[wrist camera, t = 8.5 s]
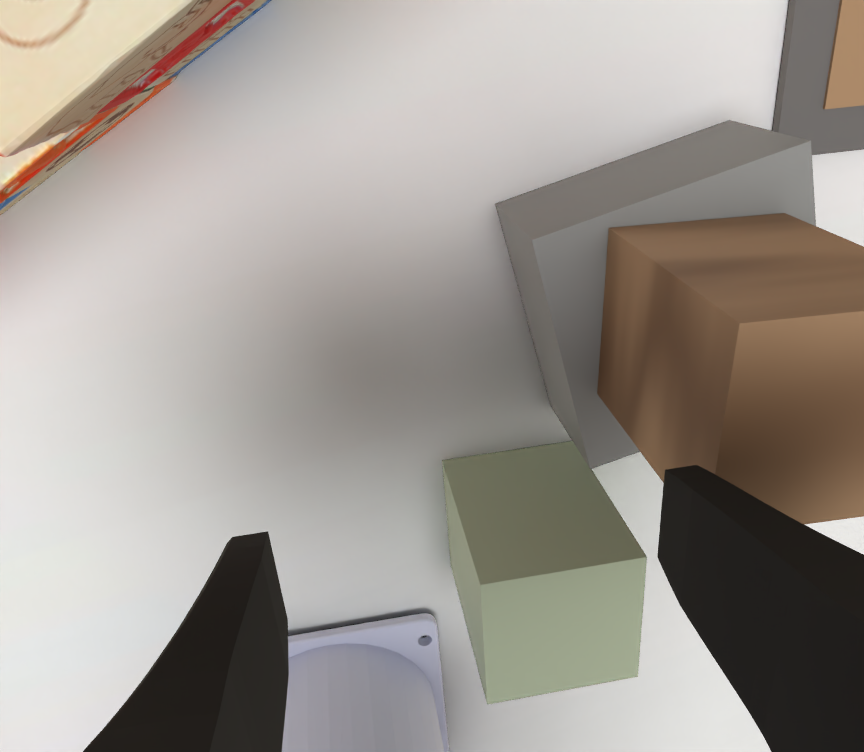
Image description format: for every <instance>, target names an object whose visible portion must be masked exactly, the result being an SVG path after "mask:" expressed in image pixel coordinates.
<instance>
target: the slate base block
mask: <svg viewBox="0 0 864 752" xmlns="http://www.w3.org/2000/svg"><path fill="white" fill-rule="evenodd" d="M495 205H496V208H497V212H498V216H499V219H500V223H501V226H502V230H503V234H504V237H505V241H506V245H507V248H508V252H509V256H510V259H511V263H512V267H513V270H514V274H515V277H516V281H517V285H518V288H519V292H520V296H521V299H522V303H523V307H524V310H525V314H526V318H527V321H528V325H529V329H530V332H531V336H532V339H533V343H534V347H535V350H536V354H537V358H538V361H539V365H540V369H541V372H542V376H543V380H544V383H545V387H546V391H547V394H548V398H549V401H550V405H551V407H552V409H553V410H554V412H555V414H556V415H557V417H558V418H559V420H560V422H561V423H562V425H563V426H564V428H565V430H566V431H567V433H568V434H569V436H570V438H571V439H572V441H573V442H574V444H575V446H576V447H577V449H578V450H579V452H580V454H581V455H582V457H583V458H584V460H585V462H586V463H587V465H588V466H589V468H590V469H592V468H595V467H598V466H601V465H603V464H606V463H609V462H612V461H615V460H617V459H620V458H623V457H626V456H629V455H631V454H634V453H637V452H640V450H639V449H638V448H637V446H636V445H635V444H634V442H633V441H632V440H631V438H630V437H629V436H628V434H627V433H626V432H625V430H624V429H623V428H622V426H621V425H620V424H619V422H618V421H617V420H616V418H615V417H614V416H613V414H612V413H611V412H610V410H609V409H608V408H607V406H606V405H605V404H604V402H603V401H602V400H601V398H600V397H599V396H598V394H597V388H598V374H599V360H600V345H601V331H602V317H603V303H604V288H605V274H606V260H607V245H608V231H609V228H613V227H625V226H637V225H649V224H661V223H673V222H685V221H696V220H708V219H720V218H732V217H744V216H756V215H768V214H780V213H786V214H788V215H791V216H793V217H795V218H798V219H800V220H802V221H805V222H807V223H809V224H812V225H814V226H816V220H815V203H814V186H813V169H812V151H811V141H810V140H806V139H802V138H798V137H794V136H790V135H786V134H782V133H778V132H774V131H770V130H766V129H762V128H758V127H754V126H750V125H746V124H742V123H738V122H734V121H730V120H729V121H726V122H723V123H720V124H717V125H715V126H712V127H709V128H706V129H703V130H701V131H698V132H695V133H692V134H689V135H687V136H684V137H681V138H678V139H675V140H673V141H670V142H667V143H664V144H661V145H659V146H656V147H653V148H650V149H647V150H645V151H642V152H639V153H636V154H633V155H631V156H628V157H625V158H622V159H619V160H617V161H614V162H611V163H608V164H605V165H603V166H600V167H597V168H594V169H591V170H589V171H586V172H583V173H580V174H577V175H575V176H572V177H569V178H566V179H563V180H561V181H558V182H555V183H552V184H549V185H547V186H544V187H541V188H538V189H535V190H533V191H530V192H527V193H524V194H521V195H519V196H516V197H513V198H510V199H507V200H505V201H502V202H499V203H496V204H495Z"/></svg>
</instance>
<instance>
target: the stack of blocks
mask: <svg viewBox="0 0 864 752" xmlns="http://www.w3.org/2000/svg"><path fill="white" fill-rule="evenodd" d="M270 1H271V0H0V215H1V214H3V213H4V212H5V211H7V210H8V209H9V208H10V207H12V206H13V205H14V204H16V203H17V202H18V201H19V200H21V199H22V198H23V197H24V196H26V195H27V194H28V193H30V192H31V191H32V190H33V189H35V188H36V187H37V186H39V185H40V184H41V183H42V182H44V181H45V180H46V179H47V178H49V177H50V176H51V175H53V174H54V173H55V172H56V171H58V170H59V169H60V168H61V167H63V166H64V165H65V164H67V163H68V162H69V161H70V160H72V159H73V158H74V157H76V156H77V155H78V154H79V153H80V152H81V151H82V150H84V149H85V148H87V147H88V146H90V145H91V144H92V143H94V142H95V141H97V140H98V139H99V138H101V137H102V136H103V135H105V134H106V133H107V132H108V131H110V130H111V129H112V128H113V127H115V126H116V125H117V124H119V123H120V122H121V121H122V120H124V119H125V118H126V117H128V116H129V115H130V114H131V113H133V112H134V111H135V110H137V109H138V108H139V107H140V106H142V105H143V104H144V103H146V102H147V101H148V100H149V99H151V98H152V97H153V96H154V95H156V94H157V93H158V92H160V91H161V90H162V89H163V88H165V87H166V86H168V85H169V84H170V83H172V82H173V81H174V80H175V79H176V77H177V75H178V73H179V72H180V71H181V70H182V69H184V68H185V67H186V66H188V65H189V64H190V63H191V62H193V61H194V60H195V59H197V58H198V57H199V56H201V55H202V54H203V53H204V52H206V51H207V50H208V49H210V48H211V47H212V46H213V45H215V44H216V43H217V42H219V41H220V40H221V39H222V38H224V37H225V36H226V35H227V34H229V33H230V32H231V31H233V30H234V29H235V28H237V27H238V26H239V25H241V24H242V23H243V22H245V21H246V20H247V19H248V18H250V17H251V16H252V15H254V14H255V13H256V12H258V11H259V10H260V9H261V8H263V7H264V6H265V5H266V4H268V3H269V2H270Z"/></svg>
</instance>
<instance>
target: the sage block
mask: <svg viewBox="0 0 864 752" xmlns="http://www.w3.org/2000/svg"><path fill="white" fill-rule="evenodd" d="M442 464H443V477H444V489H445V501H446V514H447V526H448V538H449V551H450V563H451V568H452V572H453V576H454V580H455V584H456V587H457V591H458V595H459V599H460V603H461V606H462V610H463V614H464V618H465V622H466V625H467V629H468V633H469V637H470V641H471V644H472V648H473V652H474V656H475V660H476V663H477V667H478V671H479V675H480V679H481V682H482V686H483V690H484V694H485V698H486V701H487V704H493V703H498V702H503V701H509V700H514V699H520V698H525V697H530V696H536V695H541V694H547V693H552V692H557V691H563V690H568V689H574V688H579V687H584V686H590V685H595V684H600V683H606V682H611V681H617V680H622V679H627V678H633V677H638V666H639V653H640V640H641V626H642V613H643V600H644V587H645V573H646V560H647V557H646V555H645V553H644V552H643V550H642V549H641V547H640V546H639V544H638V542H637V541H636V539H635V538H634V536H633V534H632V533H631V531H630V530H629V528H628V527H627V525H626V523H625V522H624V520H623V519H622V517H621V515H620V514H619V512H618V511H617V509H616V507H615V506H614V504H613V503H612V501H611V500H610V498H609V496H608V495H607V493H606V492H605V490H604V488H603V487H602V485H601V484H600V482H599V480H598V479H597V477H596V476H595V474H594V473H593V471H592V469H590V468H589V466H588V465H587V463H586V462H585V460H584V458H583V457H582V455H581V454H580V452H579V450H578V449H577V447H576V446H575V444H574V442H573V441H568V442H562V443H555V444H548V445H542V446H535V447H528V448H521V449H515V450H508V451H501V452H495V453H488V454H481V455H474V456H468V457H461V458H454V459H448V460H442Z"/></svg>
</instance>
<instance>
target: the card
mask: <svg viewBox="0 0 864 752" xmlns="http://www.w3.org/2000/svg"><path fill="white" fill-rule="evenodd" d="M772 131H774V132H778V133H782V134H786V135H790V136H794V137H798V138H802V139H806V140H810V141H811V151H812V155H817V154H826V153H835V152H844V151H853V150H862V149H864V0H789V8H788V15H787V23H786V31H785V38H784V46H783V54H782V61H781V69H780V77H779V84H778V92H777V99H776V107H775V115H774V122H773V130H772Z"/></svg>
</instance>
